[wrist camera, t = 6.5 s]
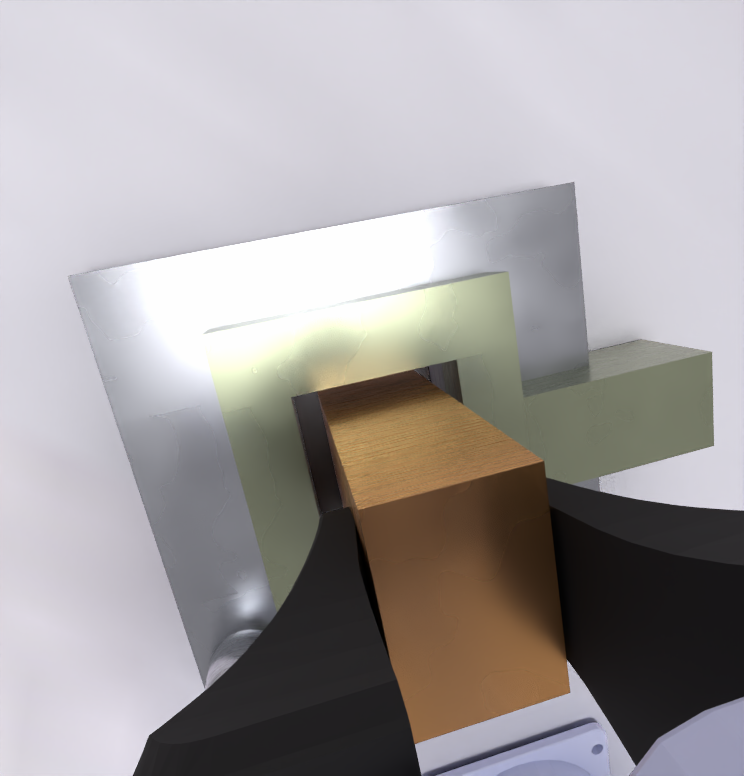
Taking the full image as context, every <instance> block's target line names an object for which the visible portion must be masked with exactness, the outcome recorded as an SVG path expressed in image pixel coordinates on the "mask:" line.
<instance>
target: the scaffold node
mask: <svg viewBox="0 0 744 776" xmlns="http://www.w3.org/2000/svg"><path fill="white" fill-rule="evenodd" d="M68 279H69V282H70V285H71V288H72V291H73V294H74V297H75V300H76V303H77V306H78V309H79V312H80V315H81V318H82V321H83V324H84V327H85V330H86V333H87V336H88V339H89V342H90V345H91V348H92V351H93V354H94V357H95V360H96V363H97V366H98V369H99V372H100V375H101V378H102V381H103V384H104V387H105V390H106V393H107V396H108V399H109V402H110V405H111V408H112V411H113V414H114V417H115V420H116V423H117V426H118V429H119V432H120V435H121V438H122V441H123V444H124V447H125V450H126V453H127V456H128V459H129V462H130V465H131V468H132V471H133V474H134V477H135V480H136V483H137V486H138V489H139V492H140V495H141V498H142V501H143V504H144V507H145V510H146V513H147V516H148V519H149V522H150V525H151V528H152V531H153V534H154V537H155V540H156V543H157V546H158V549H159V552H160V555H161V558H162V561H163V564H164V567H165V570H166V573H167V576H168V579H169V582H170V585H171V588H172V591H173V594H174V597H175V600H176V603H177V606H178V609H179V612H180V615H181V618H182V621H183V624H184V627H185V630H186V633H187V636H188V639H189V642H190V645H191V648H192V651H193V654H194V657H195V660H196V663H197V666H198V669H199V672H200V675H201V678H202V681H203V684H204V688H205V690H207V689H208V688H209V687H210V686H211V685H212V684H213V683H214V682H215V681H216V680H217V679H219V678H220V677H221V676H222V675H223V674H224V673H225V672H226V671H227V670H228V669H229V668H230V667H231V666H232V665H233V664H234V663H235V662H236V661H237V660H238V659H239V658H240V657H241V656H242V655H243V654H244V653H245V652H246V650H247V649H248V648H249V647H250V646H251V645H252V643H253V642H254V641H255V640H256V639H257V637H258V636H259V635H260V634H261V633H262V631H263V630H264V629H265V628H266V627H267V625H268V624H269V623H270V622H271V620H272V619H273V618H274V616H275V615H276V613H277V612H278V610H279V609H280V607H281V606H282V604H283V603H284V601H285V599H286V598H287V596H288V594H289V593H290V591H291V589H292V587H293V585H294V583H295V581H296V579H297V577H298V576H299V574H300V572H301V570H302V568H303V566H304V563H305V561H306V559H307V556H308V554H309V551H310V549H311V547H312V544H313V541H314V538H315V535H316V532H317V529H318V525H319V519H320V518H321V512H320V507H319V503H318V499H317V495H316V491H315V486H314V482H313V478H312V474H311V469H310V465H309V461H308V457H307V453H306V448H305V444H304V440H303V436H302V431H301V427H300V423H299V419H298V415H297V410H296V406H295V402H294V398H293V397H294V396H299V395H303V394H307V393H312V392H316V391H321V390H325V389H329V388H334V387H338V386H343V385H347V384H351V383H356V382H360V381H364V380H369V379H373V378H378V377H382V376H386V375H391V374H395V373H399V372H404V371H408V370H413V369H417V368H421V367H426V366H429V371H430V377H431V383H432V384H434V385H435V386H437V387H438V388H440V389H441V390H443V391H444V392H445V393H447V394H448V395H450V396H451V397H453V398H454V399H456V400H457V401H458V402H460V403H461V404H463V405H464V406H466V407H467V408H468V409H470V410H471V411H473V412H474V413H476V414H477V415H479V416H480V417H481V418H483V419H484V420H486V421H487V422H489V423H490V424H492V425H493V426H494V427H496V428H497V429H499V430H500V431H502V432H503V433H504V434H506V435H507V436H509V437H510V438H512V439H513V440H515V441H516V442H517V443H519V444H520V445H522V446H523V447H525V448H526V449H528V450H529V451H530V452H532V453H533V454H535V455H536V456H538V457H539V458H541V459H542V460H543V461H544V463H545V472H546V477H547V478H551V479H554V480H558V481H561V482H565V483H568V484H572V485H576V486H579V487H583V488H587V489H591V490H595V491H600V488H599V477H600V476H604V475H608V474H611V473H615V472H619V471H623V470H626V469H630V468H634V467H637V466H641V465H645V464H648V463H652V462H656V461H659V460H663V459H667V458H670V457H674V456H678V455H682V454H685V453H689V452H693V451H696V450H700V449H704V448H707V447H711V446H714V427H713V378H712V352H710V351H704V350H698V349H693V348H687V347H681V346H676V345H670V344H665V343H659V342H653V341H648V340H642V339H641V340H637V341H633V342H629V343H624V344H620V345H616V346H612V347H607V348H603V349H599V350H595V351H590V352H588V343H587V331H586V319H585V307H584V294H583V282H582V270H581V258H580V246H579V234H578V222H577V210H576V198H575V186H574V182H572V183H566V184H561V185H556V186H550V187H545V188H539V189H534V190H529V191H523V192H518V193H512V194H507V195H502V196H496V197H491V198H485V199H480V200H475V201H469V202H464V203H459V204H453V205H448V206H442V207H437V208H432V209H426V210H421V211H415V212H410V213H405V214H399V215H394V216H388V217H383V218H378V219H372V220H367V221H361V222H356V223H351V224H345V225H340V226H335V227H329V228H324V229H318V230H313V231H308V232H302V233H297V234H291V235H286V236H281V237H275V238H270V239H264V240H259V241H254V242H248V243H243V244H238V245H232V246H227V247H221V248H216V249H211V250H205V251H200V252H194V253H189V254H184V255H178V256H173V257H167V258H162V259H157V260H151V261H146V262H141V263H135V264H130V265H124V266H119V267H114V268H108V269H103V270H97V271H92V272H87V273H81V274H76V275H70V276H68Z"/></svg>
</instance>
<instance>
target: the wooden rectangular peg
mask: <svg viewBox="0 0 744 776" xmlns="http://www.w3.org/2000/svg"><path fill="white" fill-rule="evenodd" d="M317 393H318V398H319V402H320V407H321V411H322V415H323V420H324V424H325V429H326V433H327V438H328V442H329V447H330V451H331V456H332V460H333V465H334V469H335V473H336V478H337V482H338V487H339V491H340V496H341V500H342V505H343V508H346V507H349V508H350V510H351V513H352V515H353V518H354V521H355V525H356V529H357V534H358V539H359V543H360V548H361V552H362V557H363V561H364V566H365V571H366V575H367V580H368V584H369V589H370V593H371V598H372V602H373V607H374V612H375V616H376V621H377V625H378V630H379V632H380V635H381V638H382V641H383V644H384V647H385V649H386V652H387V655H388V657H389V660H390V663H391V665H392V668H393V670H394V673H395V675H396V678H397V680H398V684H399V687H400V690H401V694H402V697H403V700H404V704H405V707H406V710H407V714H408V717H409V721H410V725H411V730H412V734H413V739H414V744H416V743H419V742H422V741H425V740H428V739H431V738H434V737H437V736H440V735H443V734H446V733H449V732H452V731H456V730H459V729H462V728H465V727H468V726H471V725H474V724H477V723H480V722H483V721H486V720H489V719H492V718H495V717H498V716H501V715H504V714H507V713H510V712H513V711H516V710H519V709H522V708H525V707H528V706H531V705H534V704H537V703H540V702H543V701H546V700H549V699H552V698H555V697H558V696H561V695H565V694H568V693H570V686H569V678H568V669H567V660H566V651H565V642H564V633H563V624H562V615H561V606H560V597H559V588H558V579H557V570H556V562H555V553H554V544H553V535H552V526H551V517H550V508H549V499H548V490H547V481H546V472H545V463H544V461H543V460H542V459H541V458H539V457H538V456H536V455H535V454H533V453H532V452H530V451H529V450H528V449H526V448H525V447H523V446H522V445H520V444H519V443H517V442H516V441H515V440H513V439H512V438H510V437H509V436H507V435H506V434H504V433H503V432H502V431H500V430H499V429H497V428H496V427H494V426H493V425H492V424H490V423H489V422H487V421H486V420H484V419H483V418H481V417H480V416H479V415H477V414H476V413H474V412H473V411H471V410H470V409H468V408H467V407H466V406H464V405H463V404H461V403H460V402H458V401H457V400H456V399H454V398H453V397H451V396H450V395H448V394H447V393H445V392H444V391H443V390H441V389H440V388H438V387H437V386H435V385H434V384H432V383H431V382H430V381H428V380H427V379H425V378H424V377H422V376H421V375H419V374H418V373H417V372H415V371H414V370H409V371H405V372H401V373H396V374H392V375H387V376H383V377H379V378H374V379H370V380H366V381H361V382H357V383H352V384H348V385H344V386H339V387H335V388H331V389H326V390H322V391H317Z"/></svg>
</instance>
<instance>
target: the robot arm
mask: <svg viewBox="0 0 744 776" xmlns="http://www.w3.org/2000/svg"><path fill="white" fill-rule="evenodd" d="M546 481H547V490H548V499H549V508H550V517H551V526H552V535H553V544H554V553H555V562H556V570H557V579H558V588H559V597H560V606H561V615H562V624H563V633H564V642H565V651H566V659H567V660H568V661H569V663H570V664H571V665H572V667H573V668H574V669H575V671H576V672H577V674H578V675H579V676H580V678H581V679H582V681H583V682H584V683H585V685H586V686H587V688H588V689H589V691H590V693H591V694H592V696H593V697H594V699H595V701H596V702H597V704H598V705H599V707H600V708H601V710H602V712H603V713H604V715H605V716H606V718H607V719H608V721H609V723H610V724H611V726H612V727H613V729H614V730H615V732H616V734H617V735H618V737H619V739H620V740H621V742H622V744H623V745H624V747H625V749H626V750H627V752H628V753H629V755H630V757H631V758H632V760H633V762H634V763H635V765H636V767H635V769H634V770H633V771H632V773H631V774H630V775H629V776H744V511H738V510H723V509H710V508H697V507H687V506H678V505H670V504H663V503H657V502H650V501H644V500H637V499H632V498H627V497H622V496H617V495H613V494H608V493H604V492H600V491H595V490H591V489H587V488H583V487H579V486H576V485H572V484H568V483H565V482H561V481H558V480H554V479H551V478H547V477H546ZM133 776H421V772H420V767H419V762H418V758H417V753H416V748H415V744H414V739H413V734H412V730H411V725H410V721H409V717H408V714H407V710H406V707H405V704H404V700H403V697H402V694H401V690H400V687H399V684H398V680H397V678H396V675H395V673H394V670H393V668H392V665H391V663H390V660H389V657H388V655H387V652H386V649H385V647H384V644H383V641H382V638H381V635H380V632H379V630H378V625H377V621H376V616H375V612H374V607H373V602H372V598H371V593H370V589H369V584H368V580H367V575H366V571H365V566H364V561H363V557H362V552H361V548H360V543H359V539H358V534H357V529H356V525H355V521H354V518H353V515H352V513H351V510H350V508H349V507H346V508H342V509H338V510H334V511H331V512H327V513H323V515H322V516H321V518H320V519H319V525H318V529H317V532H316V535H315V538H314V541H313V544H312V547H311V549H310V551H309V554H308V556H307V559H306V561H305V563H304V566H303V568H302V570H301V572H300V574H299V576H298V577H297V579H296V581H295V583H294V585H293V587H292V589H291V591H290V593H289V594H288V596H287V598H286V599H285V601H284V603H283V604H282V606H281V607H280V609H279V610H278V612H277V613H276V615H275V616H274V618H273V619H272V620H271V622H270V623H269V624H268V625H267V627H266V628H265V629H264V630H263V631H262V633H261V634H260V635H259V636H258V637H257V639H256V640H255V641H254V642H253V643H252V645H251V646H250V647H249V648H248V649H247V650H246V652H245V653H244V654H243V655H242V656H241V657H240V658H239V659H238V660H237V661H236V662H235V663H234V664H233V665H232V666H231V667H230V668H229V669H228V670H227V671H226V672H225V673H224V674H223V675H222V676H221V677H220V678H219V679H217V680H216V681H215V682H214V683H213V684H212V685H211V686H210V687H209V688H208V689H207V690H205V691H204V692H203V693H202V694H201V695H200V696H199V697H197V698H196V699H195V700H194V701H192V702H191V703H190V704H189V705H187V706H186V707H185V708H184V709H182V710H181V711H180V712H179V713H177V714H176V715H175V716H174V717H172V718H171V719H170V720H169V721H167V722H166V723H165V724H164V725H162V726H161V727H160V728H159V729H157V730H156V731H154V732H153V733H152V734H150V735H149V737H148V740H147V742H146V745H145V748H144V751H143V753H142V755H141V758H140V760H139V762H138V765H137V767H136V769H135V772H134V774H133ZM436 776H610V766H609V755H608V744H607V735H606V732H605V730H604V729H603V728H602V726H601V725H600V724H599V723H595V722H593V723H588V724H585V725H583V726H580V727H577V728H574V729H571V730H568V731H565V732H562V733H559V734H556V735H553V736H550V737H547V738H544V739H541V740H538V741H536V742H533V743H530V744H527V745H524V746H521V747H518V748H515V749H512V750H509V751H506V752H503V753H500V754H497V755H494V756H492V757H489V758H486V759H483V760H480V761H477V762H474V763H471V764H468V765H465V766H462V767H459V768H456V769H453V770H450V771H448V772H445V773H442V774H439V775H436Z"/></svg>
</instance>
